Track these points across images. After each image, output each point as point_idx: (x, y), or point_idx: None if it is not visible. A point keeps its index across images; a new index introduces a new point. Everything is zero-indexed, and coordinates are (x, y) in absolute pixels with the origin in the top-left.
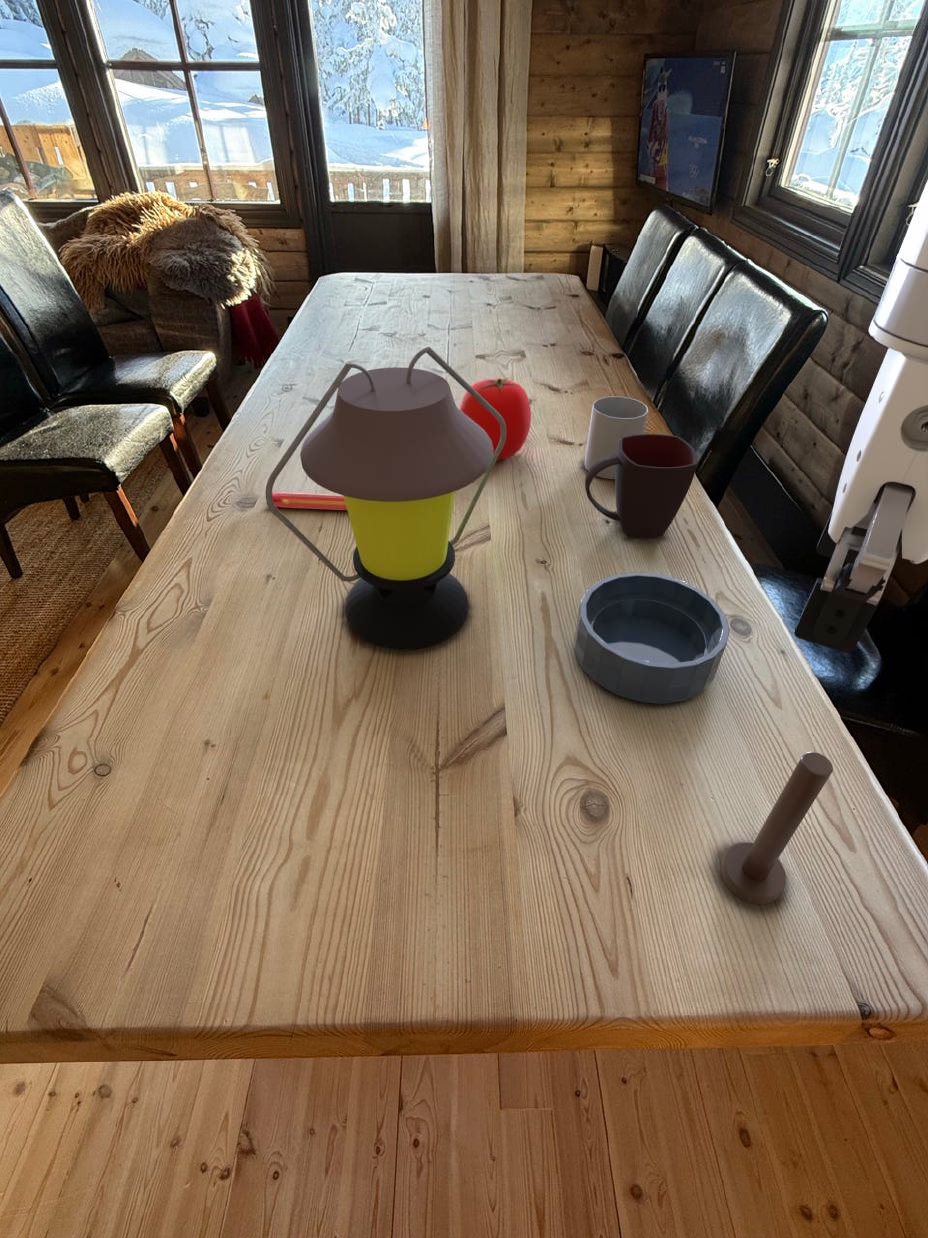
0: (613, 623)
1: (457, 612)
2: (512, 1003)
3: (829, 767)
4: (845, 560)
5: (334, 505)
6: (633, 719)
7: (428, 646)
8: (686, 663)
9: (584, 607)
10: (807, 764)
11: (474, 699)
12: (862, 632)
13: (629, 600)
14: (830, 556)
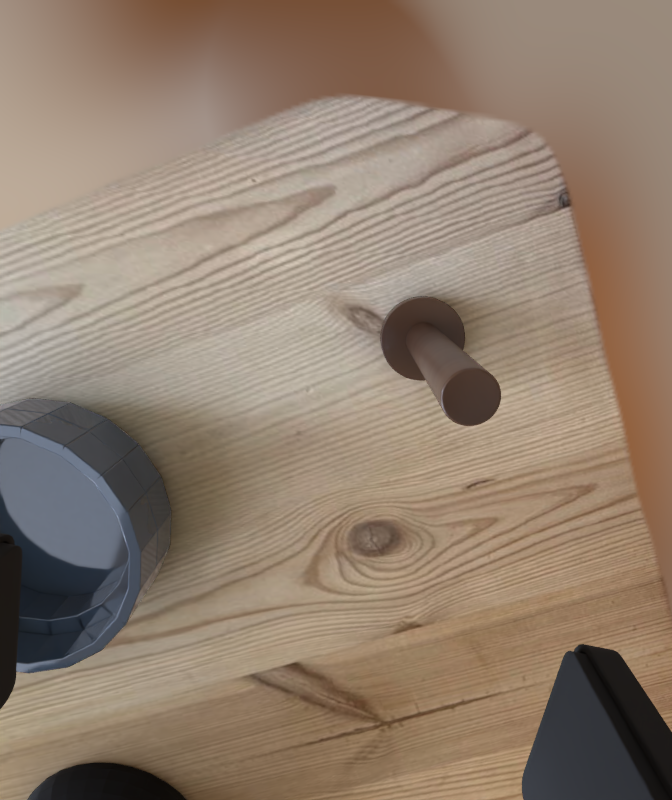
0: None
1: (105, 793)
2: (647, 582)
3: (476, 376)
4: (19, 604)
5: None
6: (202, 507)
7: (178, 792)
8: (106, 493)
9: (38, 665)
10: (479, 416)
11: (251, 713)
12: (668, 729)
13: None
14: (14, 650)
